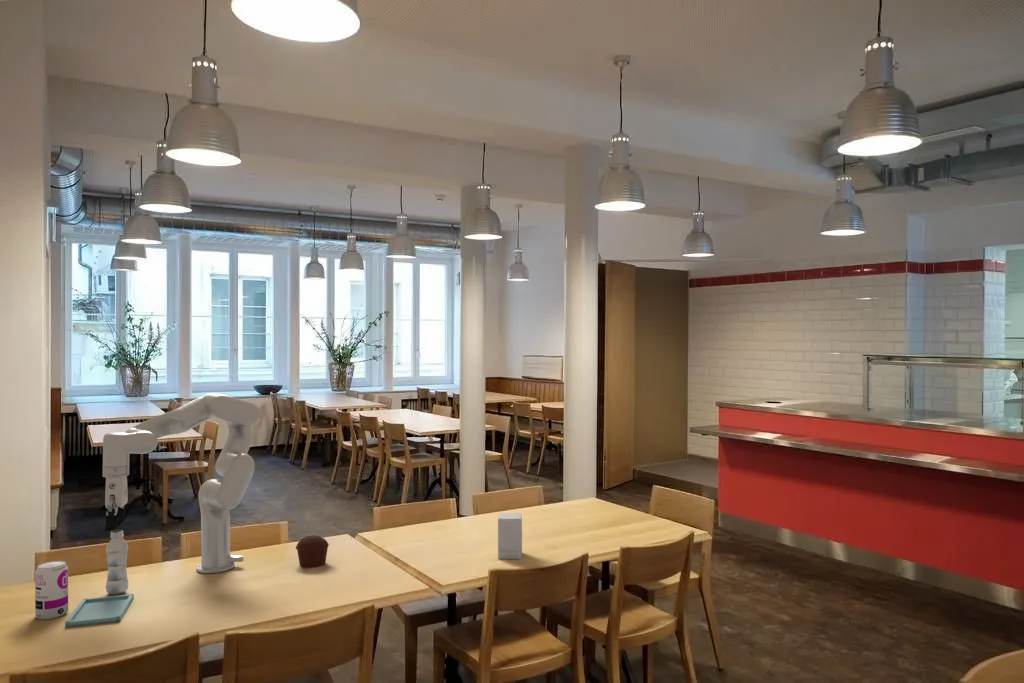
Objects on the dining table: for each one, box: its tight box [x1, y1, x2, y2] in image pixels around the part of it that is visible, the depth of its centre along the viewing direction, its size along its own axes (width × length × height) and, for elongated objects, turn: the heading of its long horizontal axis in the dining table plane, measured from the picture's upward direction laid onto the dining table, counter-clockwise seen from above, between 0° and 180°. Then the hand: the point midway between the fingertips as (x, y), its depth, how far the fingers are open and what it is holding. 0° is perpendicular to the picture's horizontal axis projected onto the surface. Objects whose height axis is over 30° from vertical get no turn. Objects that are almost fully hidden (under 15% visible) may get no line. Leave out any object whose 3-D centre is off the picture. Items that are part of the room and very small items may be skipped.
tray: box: [64, 593, 135, 629], centre depth 218 cm, size 14×20×2 cm
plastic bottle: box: [105, 529, 129, 596], centre depth 235 cm, size 6×7×20 cm
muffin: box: [295, 535, 330, 569], centre depth 264 cm, size 12×11×10 cm
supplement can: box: [34, 560, 69, 620], centre depth 216 cm, size 8×8×15 cm
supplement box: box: [497, 512, 523, 560], centre depth 273 cm, size 9×9×15 cm
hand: (115, 524), depth 234 cm, fingers open, 9 cm apart
